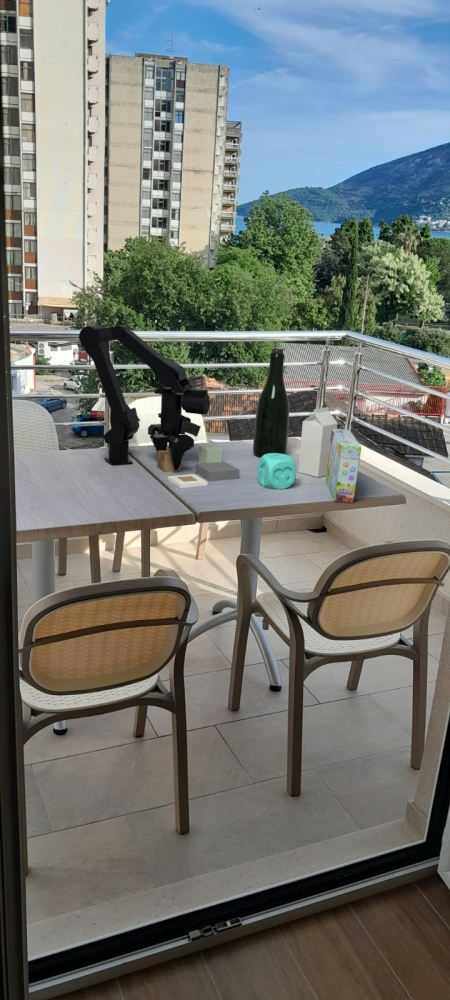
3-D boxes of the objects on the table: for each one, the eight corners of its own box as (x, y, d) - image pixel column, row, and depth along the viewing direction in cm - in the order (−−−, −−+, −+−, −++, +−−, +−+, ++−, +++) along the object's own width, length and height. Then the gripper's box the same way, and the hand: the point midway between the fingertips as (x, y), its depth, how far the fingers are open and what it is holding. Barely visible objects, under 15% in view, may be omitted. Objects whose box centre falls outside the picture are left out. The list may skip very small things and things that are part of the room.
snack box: (355, 504, 191) (362, 446, 186) (333, 502, 191) (340, 444, 186) (344, 481, 211) (350, 428, 206) (324, 479, 211) (329, 427, 206)
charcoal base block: (195, 474, 210) (195, 463, 209) (223, 471, 214) (224, 461, 213) (209, 482, 202) (210, 472, 201) (238, 480, 207) (239, 469, 206)
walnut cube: (157, 467, 213) (158, 450, 211) (173, 466, 215) (174, 449, 213) (164, 472, 208) (165, 455, 207) (180, 471, 211) (181, 453, 209)
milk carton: (332, 474, 217) (339, 409, 211) (317, 478, 212) (324, 411, 206) (312, 468, 221) (318, 405, 216) (297, 472, 216) (303, 407, 211)
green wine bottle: (264, 449, 241) (272, 345, 231) (292, 455, 235) (301, 349, 225) (246, 455, 233) (253, 347, 223) (274, 461, 227) (283, 351, 217)
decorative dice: (255, 482, 204) (257, 453, 202) (282, 480, 207) (284, 452, 205) (268, 490, 197) (270, 461, 195) (295, 488, 200) (297, 459, 198)
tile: (167, 479, 201) (167, 475, 201) (194, 477, 205) (194, 473, 204) (180, 488, 194) (180, 484, 194) (207, 485, 198) (207, 481, 198)
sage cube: (198, 462, 221) (199, 446, 219) (213, 461, 223) (214, 445, 222) (206, 466, 217) (207, 450, 215) (221, 465, 219) (222, 449, 218)
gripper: (212, 416, 203) (209, 472, 207) (183, 403, 218) (181, 455, 223) (175, 418, 197) (173, 475, 202) (147, 405, 213) (146, 458, 218)
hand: (169, 465), depth 211 cm, fingers open, 9 cm apart
